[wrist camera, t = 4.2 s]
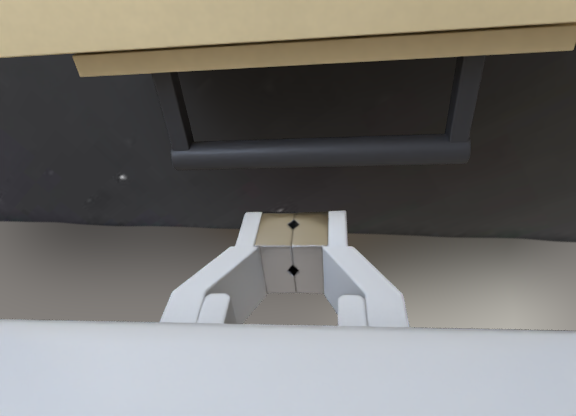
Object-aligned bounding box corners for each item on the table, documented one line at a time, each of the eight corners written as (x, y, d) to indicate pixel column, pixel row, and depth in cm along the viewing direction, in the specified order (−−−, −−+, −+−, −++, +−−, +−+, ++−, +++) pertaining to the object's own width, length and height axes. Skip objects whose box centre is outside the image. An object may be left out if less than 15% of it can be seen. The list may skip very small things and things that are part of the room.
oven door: (472, -25, 28) (582, 24, 16) (455, 76, 32) (531, 178, 20) (176, -2, 31) (71, 55, 18) (196, 89, 35) (121, 185, 22)
